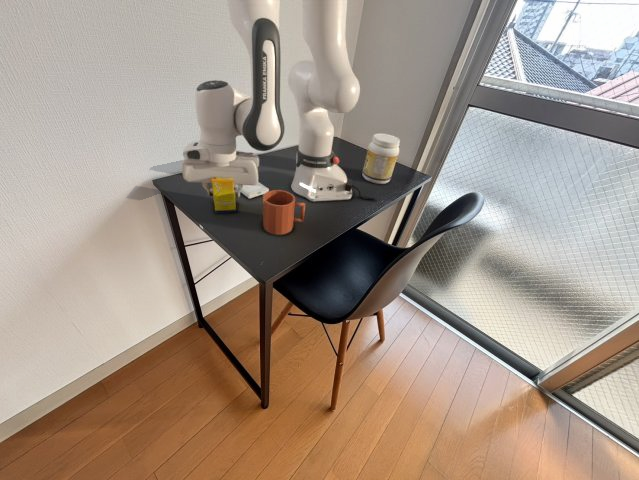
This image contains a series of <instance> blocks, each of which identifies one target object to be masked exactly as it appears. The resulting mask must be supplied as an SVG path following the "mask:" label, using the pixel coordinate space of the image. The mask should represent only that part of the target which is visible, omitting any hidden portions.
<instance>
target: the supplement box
mask: <svg viewBox="0 0 639 480" xmlns="http://www.w3.org/2000/svg"><path fill="white" fill-rule="evenodd" d="M210 184H211V188H212V190H213V196H212V197H213V203H214V211H215V213H216V214H217V213H219V214H221V213H235V212H237V207H236V206H237V205H236V197H235V194H234V191H235V187H234V182H233V179H232V178H217V177H211V183H210Z"/></svg>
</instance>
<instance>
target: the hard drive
mask: <svg viewBox="0 0 639 480" xmlns="http://www.w3.org/2000/svg"><path fill="white" fill-rule="evenodd" d="M234 189H237V190H238V185H235V184H234ZM269 191H270V189H269V188H268V187H267V186H266V185H264V184H262V183H261V182H260V181H258V183H257V184H256V185H243V188H242V190H241V191H240V194H242V195H244V196H245V197H247V198H248V199H252V198H255V197H259V196H261V195H262V196H263V195H264V194H265V193H266V192H269Z"/></svg>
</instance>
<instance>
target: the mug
mask: <svg viewBox="0 0 639 480" xmlns="http://www.w3.org/2000/svg"><path fill="white" fill-rule="evenodd" d="M296 207H301V211H300V217H295V208H296ZM305 214H306V203H305V202H296V196H295V195H294V194H293V193H291V192H289V191H287V190H282V189H272V190H269V192H266V193H265V194H262V227H263V229H264V231H266V232H267V233H269V234H272V235H276V236H280V235H282V236H283V235H287V234H289V233H290V232H291V231H292V230H293V229H294V222H297V223H298V222H301V223H302V222H304V221H305Z"/></svg>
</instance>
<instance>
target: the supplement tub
mask: <svg viewBox="0 0 639 480" xmlns="http://www.w3.org/2000/svg"><path fill="white" fill-rule="evenodd" d="M371 140H372V141H370V143H369V144H368V146H367V152H366V156H365V160H364V165H363V168H362V174H361V175H362V177H363V178H364V179H365V180H366V181H367V182H370V183H372V184H375V185H376V184H377V185H384V184H387V183H389V182H390V181H391V180H392V176H393V172H394V169H395V167H396V166H395V165H396V163H397V159H398V157H399V155H400V148H399V147H400V142H401V139H400V138H399V137H397V136H395V135H392V134H388V133H382V132H381V133H375V134H373V136H372V138H371Z"/></svg>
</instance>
